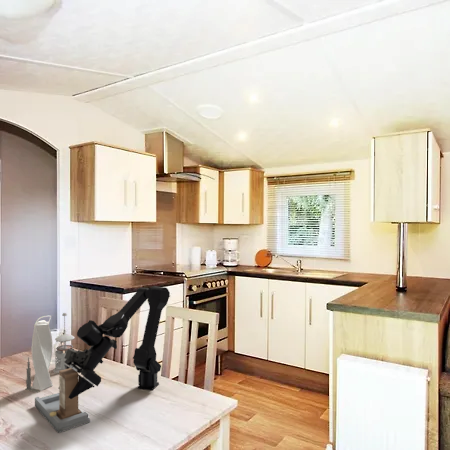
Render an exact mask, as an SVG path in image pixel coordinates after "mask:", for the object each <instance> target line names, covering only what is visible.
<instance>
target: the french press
mask: <svg viewBox="0 0 450 450" xmlns="http://www.w3.org/2000/svg"><path fill="white" fill-rule="evenodd" d="M62 316H63V320H64V321H63V323H64V325H63V327H64V332H63V333H64V334H59V335H58V336H57V337H56V338H55V337H54V341H55V342H58V343H59V342H60V345H59V346H57V347H56V350H55V352H54V353H55V354H54V357H55V359H54V360H55V361H54V363H55V366H54V368H53V369H52V371H53V373H55V374H59V371H61V370H65V366H64V365H67V364H66V363H65V361H66V359H65V358H64V357H65V355H66V353H67V350H68V349H72V350H75V349H74V345H72V344H66V342H70V341H73V340H74V339H75V336H74V335H72V334H66V317H67V316H68V314H67V312H62ZM63 343H64V344H63ZM62 344H63V345H62Z"/></svg>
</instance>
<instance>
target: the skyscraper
mask: <svg viewBox="0 0 450 450" xmlns="http://www.w3.org/2000/svg"><path fill="white" fill-rule="evenodd" d="M47 317H49V319H48V321H46V320H43V319H42V318H47ZM40 319H42V320H40ZM51 319H52V315H50V314H49V315H43V316H42V315H41V316H40V317H38V318H37V319H36V321H35V324H33V327H34V328H33V332H32V336H31V337H32V339H31V360H32V366H33V370H34V377H33V382H32V379H31V374H32V373H31V372H32V371H31V370H32V369H31V367H30V365H31V364H30V363H31V361H30V357H27V368H26V381H25V385H26V388H25V390H26V391H30V392H34V393H37V394H38V393H40V392H43V391H45V390H48V389H49V388H51V387H53V382H52V381H53V380H52V379H51V374H50V371H49V370H50V366H51V362H52V356H53V337H52V333H51V332H52V331H51V328H50V323H51Z"/></svg>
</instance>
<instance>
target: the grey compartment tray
mask: <svg viewBox="0 0 450 450" xmlns="http://www.w3.org/2000/svg"><path fill="white" fill-rule="evenodd" d="M34 407H35V408H36V409H37V410H38V412H39V413H40V414H41V415H42V416H43V418H44V419H45V420H46V421H47V422H48V423H49V424H50V425H51V427H52V428H53V429H54V430H55V431H56V432H57V434H59V433H62V432H65V431H69V430H70V429H73V428H76V427H79V426H82V425H85V424H89V423H90V422H91V419H90V418H89V413H87V411H84V412H83V411H82V410H81V409H80V408H78V409H79V410H80V411H81V413H80V414H77V415H74V416H71V417H68V418H65V419H61V420H60V419H59V418H58V417H57V416H56V411H58V410H59V392H57V393H54V394H50V395H46V396H43V397H40V396H36V397H34Z"/></svg>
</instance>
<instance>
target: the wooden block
mask: <svg viewBox="0 0 450 450" xmlns="http://www.w3.org/2000/svg"><path fill="white" fill-rule="evenodd" d="M78 374H79V373H78V372H76V371H75V370H74V369H72V368H69V369H65V370H61V371H59V373H58V383H59V384H58V389H59V390H58V393H59V410H58V411H56V416H57V417H58V418H59V419H60V420H61V419H65V418H68V417H71V416H74V415H77V414H80V413H81V411H82V410H81V409H80V408H79V395H77V396H76V397H74V398H72V399H70V398H69V395H70V393H71V392H72V390H73V389H74V387H75V386H76V384H77V383H78ZM79 409H80V410H81V411H80V410H79Z"/></svg>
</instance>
